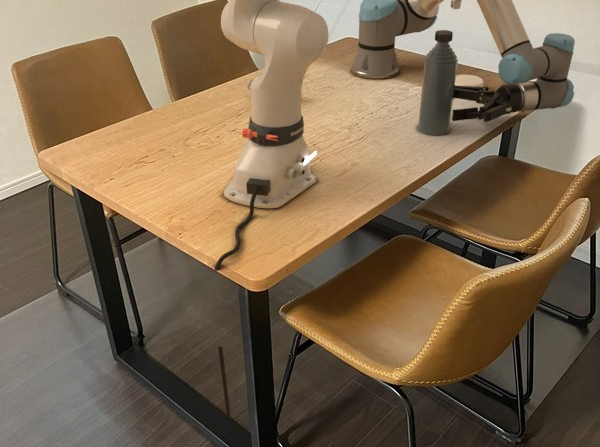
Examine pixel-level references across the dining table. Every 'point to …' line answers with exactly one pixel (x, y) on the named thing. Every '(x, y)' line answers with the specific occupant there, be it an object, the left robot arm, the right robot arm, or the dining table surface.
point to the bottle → (437, 90)
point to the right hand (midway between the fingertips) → (441, 105)
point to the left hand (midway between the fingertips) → (447, 4)
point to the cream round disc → (468, 81)
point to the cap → (443, 36)
